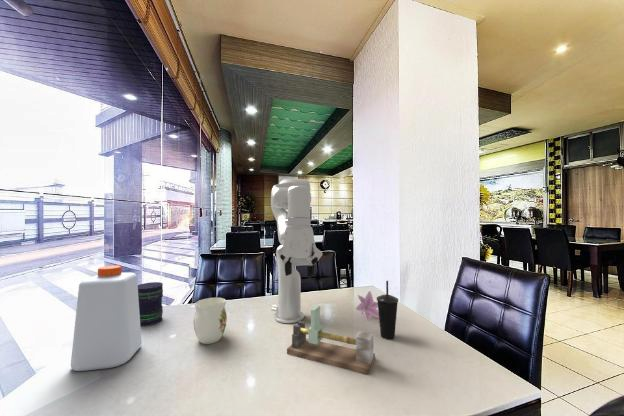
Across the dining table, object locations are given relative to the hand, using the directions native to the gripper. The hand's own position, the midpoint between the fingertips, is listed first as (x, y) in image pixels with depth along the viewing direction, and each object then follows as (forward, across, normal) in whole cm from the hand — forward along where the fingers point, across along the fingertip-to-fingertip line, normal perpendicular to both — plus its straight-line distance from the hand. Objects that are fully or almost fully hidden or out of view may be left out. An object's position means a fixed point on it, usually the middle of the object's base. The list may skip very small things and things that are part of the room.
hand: (299, 275), depth 88 cm
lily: (+24, +14, +36) cm, 46 cm away
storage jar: (+24, -67, -7) cm, 72 cm away
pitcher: (+24, -32, -7) cm, 41 cm away
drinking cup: (+24, +25, +21) cm, 41 cm away
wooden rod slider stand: (+24, +11, 0) cm, 26 cm away
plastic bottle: (+24, -51, -30) cm, 64 cm away
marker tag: (+20, +6, 0) cm, 21 cm away
